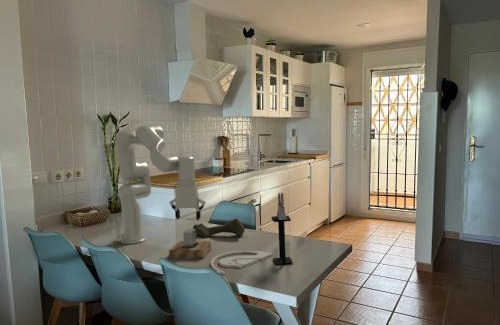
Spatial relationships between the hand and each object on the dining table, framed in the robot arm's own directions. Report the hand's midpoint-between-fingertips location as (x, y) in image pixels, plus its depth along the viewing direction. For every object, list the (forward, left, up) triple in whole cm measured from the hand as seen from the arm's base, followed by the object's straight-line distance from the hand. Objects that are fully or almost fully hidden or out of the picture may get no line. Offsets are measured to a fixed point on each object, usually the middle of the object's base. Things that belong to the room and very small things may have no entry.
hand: (188, 219), depth 185 cm
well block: (+1, 0, -17) cm, 17 cm away
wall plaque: (+24, -9, -17) cm, 31 cm away
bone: (+7, +31, -17) cm, 36 cm away
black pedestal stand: (+45, -10, -17) cm, 49 cm away
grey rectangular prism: (0, 0, -16) cm, 16 cm away
